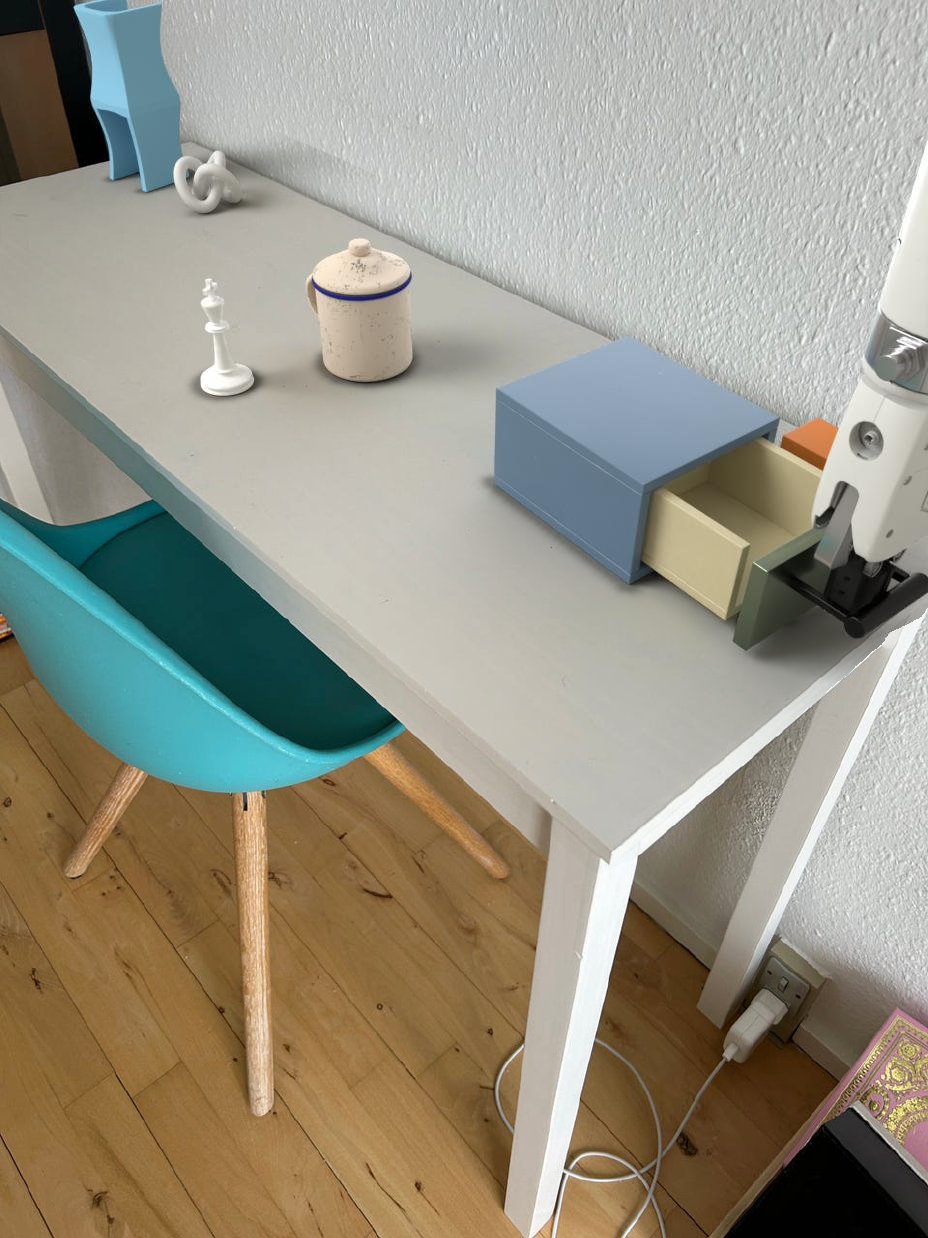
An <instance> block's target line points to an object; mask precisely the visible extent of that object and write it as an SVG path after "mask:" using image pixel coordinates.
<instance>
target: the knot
mask: <svg viewBox="0 0 928 1238" xmlns="http://www.w3.org/2000/svg"><path fill="white" fill-rule="evenodd" d="M226 167H227V159H226V154H225V153H224V152H223V151H221V150H215V151H214V152H213V153H212V154H211V155H210V157H209V158H208V161H206V163H204V162H202V161H201V160H200V159H198V158H196V157H193V156H191V155H185V156H184V155H183V157H181V158H180V159H179V160H178V161H177V162H176V164H175V167H174V185H175V189H176V191H177V193H178V195H179V197H180V199H181V200H182V202H184V204H185V205H186V206H187V207H188V208H189V209H191V210H192V211H194V212H196V213H199V214H208V213H211V212H212V211H214V210H215V209H216V208H217V207H218V205H219V203H220V202H221V200H223V201H225V202H227V203H230V204H238V203H239V202H241V201H242V199H243V189H242V186H241V184H240V182H239V181H238V179H237V178H236V176H234V174H233V173H232V172H231V171H230V170H228V169H227V168H226ZM187 170H192V171H193V172H195V173H194V175H193V180H192V188H191V189H192V190H191V189H190V187H189V185H188V182H187V178H186V171H187ZM209 189H210V191H209ZM208 192H209V193H208ZM207 194H208V196H207ZM206 196H207V197H206Z"/></svg>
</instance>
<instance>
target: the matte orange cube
mask: <svg viewBox="0 0 928 1238" xmlns="http://www.w3.org/2000/svg"><path fill="white" fill-rule="evenodd" d="M838 429H839V427H838V426H836V425H834V424H832V423H830V422H828V421H827V420H824V419H822V418H821V417H816V418H814V419H812V420H810V421H808V422H806V423H804V424H801V426H799V427H796V428H794V429H793V430H790V431H789V432H786V433H785V434H783V435H782V438H781V442H780V446H779V447H781V448H782V449H784V450H786V451H788V452H790V453H791V454H793V455H795V456H797V457H799V458H800V459H802V460H804V461H806V462H808V463H809V464H811V465H813V466H815V467H816V468H818V469H820V470H822V471H823V470H824V467H825V464H826V461H827V458H828V455H829V453H830V450H831V447H832V445H833V442H834V439H835V437H836V434H837V432H838Z"/></svg>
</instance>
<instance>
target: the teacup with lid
mask: <svg viewBox="0 0 928 1238" xmlns="http://www.w3.org/2000/svg"><path fill="white" fill-rule="evenodd" d="M412 279H413V274H412V271H411V268H410V266H409V264H408V263H407V262H406V261H405V260H404V258H402V257H400V256H398V255H397V254H394V253H391V252H389V251H385V250H379V249H377V248H374V247H372V244H371V242H370V240H369V239H366V238H362V237H359V238H354V239H351V240H350V241H349V242H348V245H347V249H345V250H342V251H340V252H337V253H333V254H331V255H328V256H326V257H325V258H323V259H322V260H320V261H319V262H318V263H317V264H316V265H315V267H314V268H313V271H312V273H311V274H310V275H308V276H307V278H306V280H305V285H304V287H305V288H304V289H305V294H306V298H307V299H306V300H307V302H308V304H309V307H310V309H311V310H312V313H313V314H314V315H315V316H316V318H317V319H318V324H319V335H320V344H321V351H322V352H321V353H322V361H323V364H324V367H325V368H326V369H327V370H328V371H329V373H331V374H332V375H334V376H336V377H338V378H340V379H342V380H343V379H344V380H347V381H351V382H358V383H359V382H360V383H369V382H378V381H383V380H387V379H388V380H389V379H391V378H394V377H397V376H398V375H400V374H401V373H403V372H405V371H406V370H407V369H408V368H409V367H410V365H411V364H412V361H413V355H414V354H413V334H412V333H413V332H412V330H413V329H412V312H411V311H412V310H411V309H412V308H411V285H410V283H411V282H412Z"/></svg>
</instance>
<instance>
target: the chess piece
mask: <svg viewBox="0 0 928 1238" xmlns="http://www.w3.org/2000/svg"><path fill="white" fill-rule="evenodd" d="M204 283H205V287H204V288H203V289H202V290H201V291H202V295H203V296H206V297H204V298H203V299H202V300H201V302H200V305H201V307H202V309H203V310H204V313H205V314H206V316H207V318H208V320H209V321H208V322H207V323H205V327H204V329H205V330H204V331H206V332H207V333H210V334H212V338H213V352H214V364H213V365H212V366H210V367H208V368H207V369H205V371H203V372H202V373H201V376H200V386H201V387H200V388H201V389H202V390H203V391H204V392H205V393H207V394H209V395H213V396H218V397H219V396H220V397H225V396H226V397H228V396H233V395H238V394H241V393H244V392H245V391H247V390H249V389H250V388H251V387H252V386H253V385H254V383H255V377H254V375H253V372H252V370H251V369H250V368H249V367H248V366H246V365H244V364H242V363H237V362H236V361H233V358H232V354H231V352H230V348H229V346H228V342H227V339H226V334H225V332H227V331H228V330H229V329H230V324H229V322H228V321H226V320H224V319H223V315H224V313H223V312H224V307H225V300H224V299H223V298H222V297H221V296H218V295H215V291H216V290H218V288H219V287H218V286H219V285H218V282H213V279H212V278H205V280H204Z"/></svg>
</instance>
